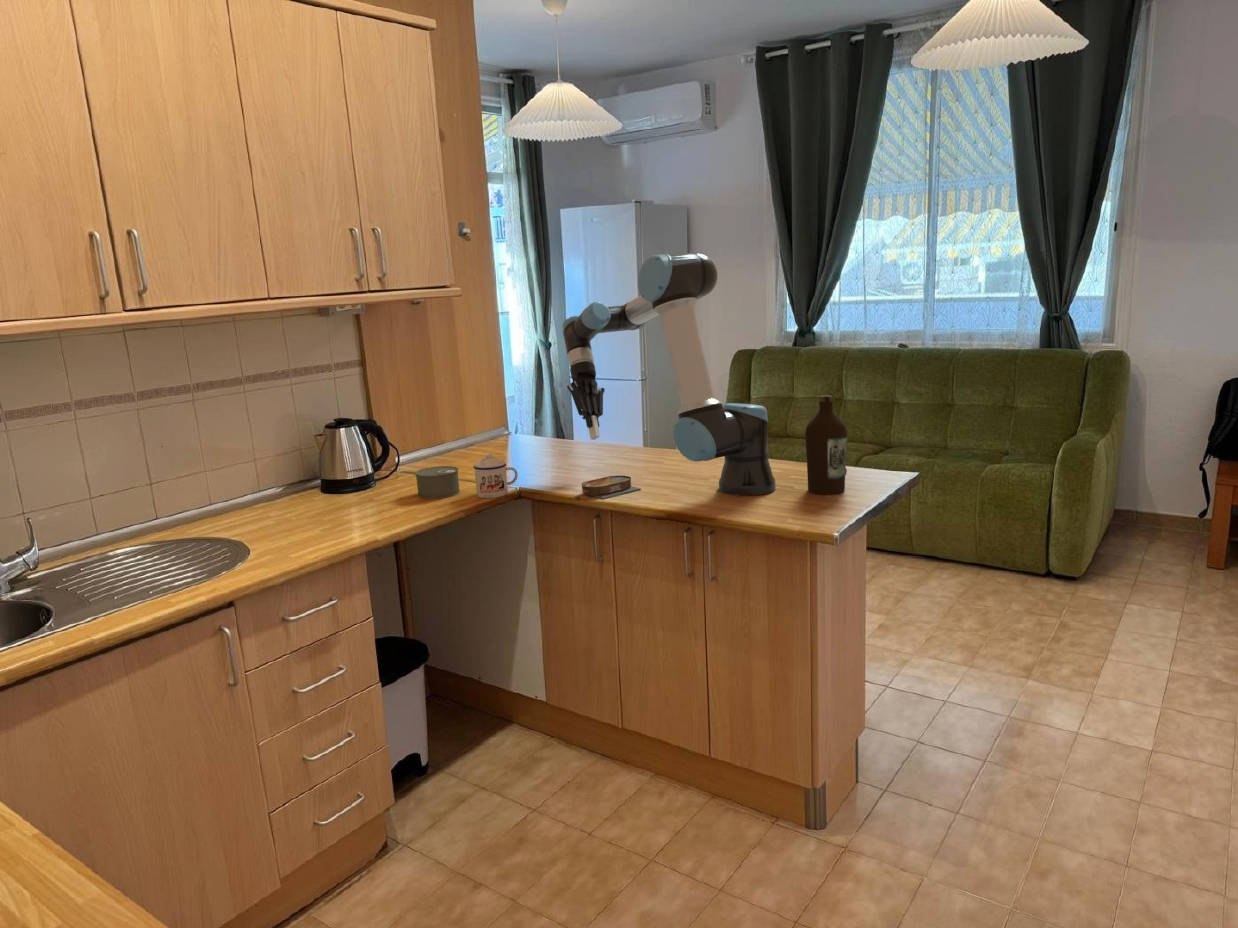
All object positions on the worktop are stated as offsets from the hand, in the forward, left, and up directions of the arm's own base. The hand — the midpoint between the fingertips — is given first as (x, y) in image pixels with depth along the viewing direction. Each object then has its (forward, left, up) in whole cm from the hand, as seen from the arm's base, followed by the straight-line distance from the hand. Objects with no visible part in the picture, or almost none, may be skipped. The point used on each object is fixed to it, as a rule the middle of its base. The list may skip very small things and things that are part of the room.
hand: (595, 437), depth 254 cm
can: (+21, +41, -12) cm, 48 cm away
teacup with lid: (+7, +30, -12) cm, 33 cm away
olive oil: (-60, -30, -12) cm, 68 cm away
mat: (-17, +8, -12) cm, 22 cm away
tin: (-11, +8, -11) cm, 17 cm away
